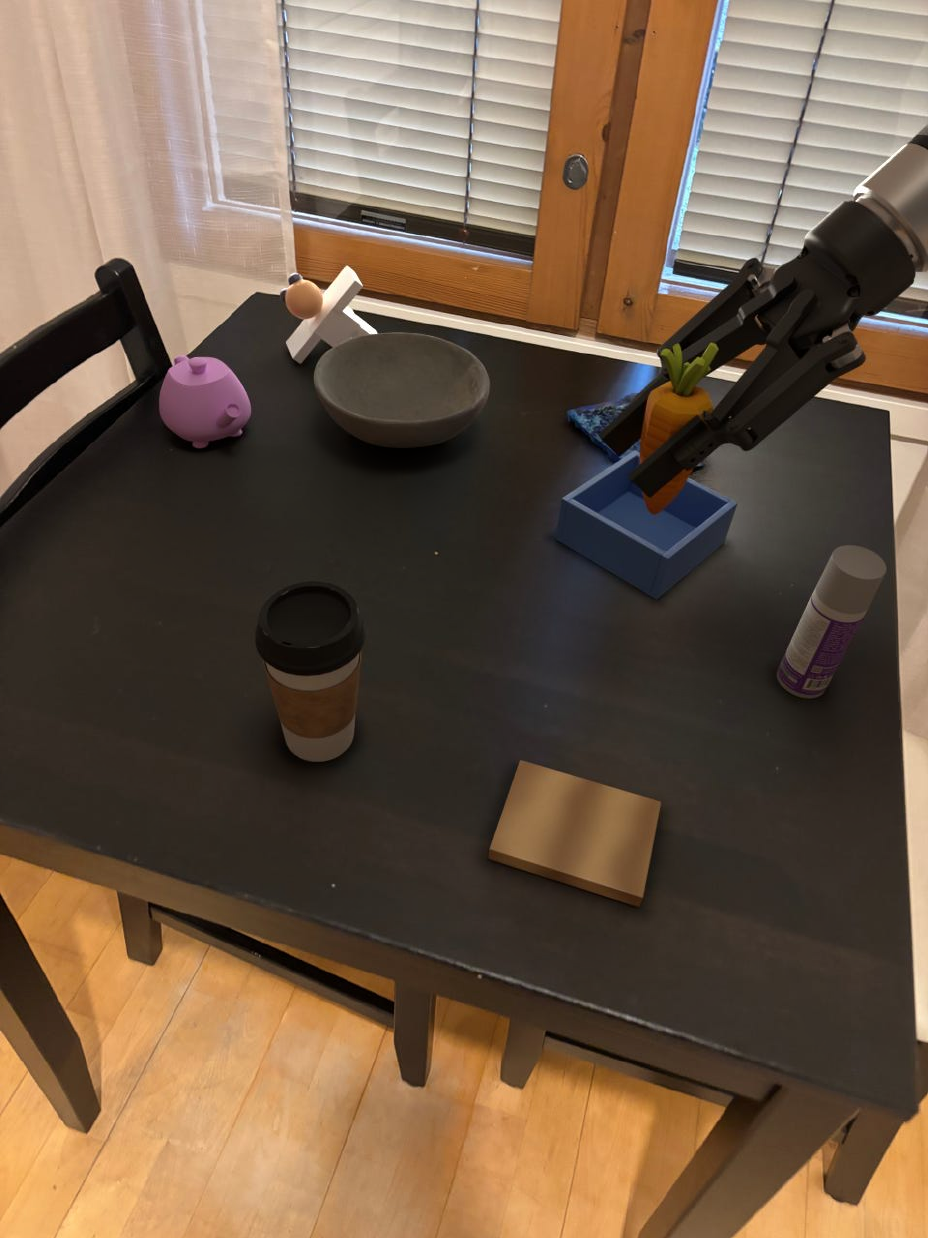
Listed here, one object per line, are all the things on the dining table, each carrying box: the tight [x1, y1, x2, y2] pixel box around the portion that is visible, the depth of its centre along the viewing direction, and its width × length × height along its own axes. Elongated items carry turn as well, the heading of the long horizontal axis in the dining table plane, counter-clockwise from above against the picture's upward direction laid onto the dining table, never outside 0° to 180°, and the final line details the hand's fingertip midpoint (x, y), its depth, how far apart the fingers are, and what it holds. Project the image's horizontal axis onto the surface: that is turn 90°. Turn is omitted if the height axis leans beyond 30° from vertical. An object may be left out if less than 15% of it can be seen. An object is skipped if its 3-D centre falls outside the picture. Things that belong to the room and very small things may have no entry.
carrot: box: [639, 343, 719, 515], centre depth 68 cm, size 5×5×15 cm
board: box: [487, 759, 662, 908], centre depth 70 cm, size 12×9×2 cm
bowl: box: [313, 331, 491, 449], centre depth 109 cm, size 21×21×8 cm
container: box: [776, 544, 887, 699], centre depth 79 cm, size 5×5×15 cm
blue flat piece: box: [566, 392, 706, 467], centre depth 112 cm, size 15×17×2 cm
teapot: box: [158, 354, 252, 449], centre depth 105 cm, size 10×15×9 cm
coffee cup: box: [254, 580, 366, 763], centre depth 71 cm, size 8×8×15 cm
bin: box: [554, 451, 739, 600], centre depth 96 cm, size 14×14×6 cm
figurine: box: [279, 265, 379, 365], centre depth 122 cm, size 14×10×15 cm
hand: (623, 465), depth 68 cm, fingers closed on carrot, 5 cm apart
